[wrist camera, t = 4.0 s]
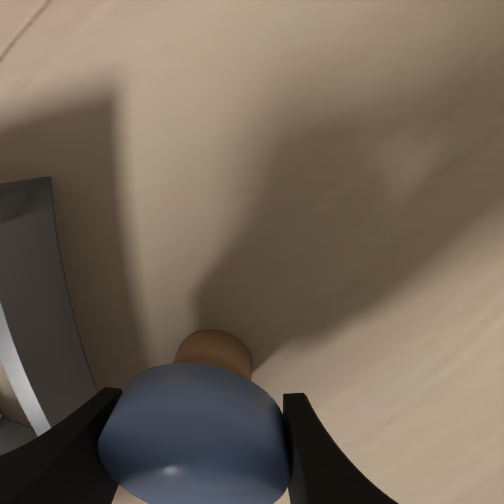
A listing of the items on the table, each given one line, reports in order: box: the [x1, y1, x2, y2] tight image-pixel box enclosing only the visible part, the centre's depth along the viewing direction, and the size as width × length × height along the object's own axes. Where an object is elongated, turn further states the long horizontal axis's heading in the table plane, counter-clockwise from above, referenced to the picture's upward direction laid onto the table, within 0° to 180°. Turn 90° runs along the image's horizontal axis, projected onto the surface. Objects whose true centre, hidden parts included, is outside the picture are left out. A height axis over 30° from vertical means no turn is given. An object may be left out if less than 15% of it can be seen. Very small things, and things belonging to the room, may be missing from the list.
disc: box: [98, 363, 289, 504], centre depth 8 cm, size 5×5×2 cm
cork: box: [173, 330, 252, 381], centre depth 11 cm, size 3×3×4 cm
